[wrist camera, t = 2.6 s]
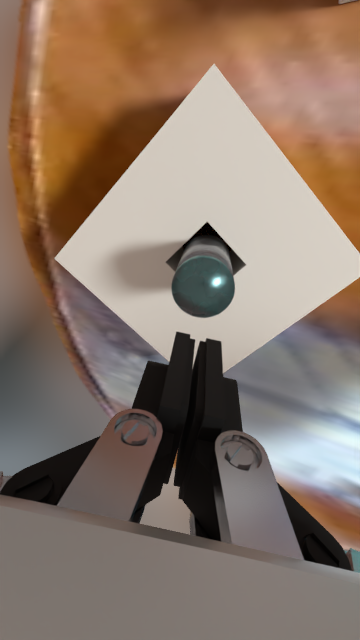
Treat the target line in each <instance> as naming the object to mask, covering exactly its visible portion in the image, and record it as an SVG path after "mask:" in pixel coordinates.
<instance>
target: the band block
mask: <svg viewBox="0 0 360 640" xmlns="http://www.w3.org/2000/svg"><path fill="white" fill-rule="evenodd" d="M206 222H208V223H209V224H210V225H211V226H212V227H213V228H214V230H215V231H216V232H217V233H218V234H219V235H220V236H221V237H222V238H223V240H224V241H225V242H226V243H227V244H228V245H229V246H230V247H231V248H232V249H233V250H231V251H230V252H229V254H230V260H231V266H232V271H233V277H234V283H235V293H234V297H233V299H232V302H231V303H230V305H229V306H228V307H227V308H226V309H225V310H224V311H223V312H221V313H220V314H218V315H215V316H213V317H208V318H199V317H194V316H191V315H189V314H187V313H185V312H184V311H183V310H181V309H180V308H179V307H178V305H177V304H176V302H175V301H174V298H173V296H172V289H171V286H172V280H173V277H174V274H175V272H176V269H177V267H178V264H179V262H180V259H181V256H182V254H183V251H184V249H183V248H182V246H183V245H184V244H185V243H186V242H187V241H188V240H189V239H190V238H191V237H192V236H193V235H194V234H195V233H196V232H197V231H198V230H199V229H200V228H201V227H202V226H203V225H204V224H205V223H206ZM54 259H55V260H56V261H57V262H59V263H60V264H61V265H62V266H63V267H64V268H65V269H66V270H67V271H69V272H70V273H71V274H72V275H73V276H74V277H75V278H76V279H77V280H79V281H80V282H81V283H82V284H83V285H84V286H85V287H86V288H87V289H89V290H90V291H91V292H92V293H93V294H94V295H95V296H96V297H98V298H99V299H100V300H101V301H102V302H103V303H104V304H105V305H106V306H108V307H109V308H110V309H111V310H112V311H113V312H114V313H115V314H116V315H118V316H119V317H120V318H121V319H122V320H123V321H124V322H125V323H126V324H128V325H129V326H130V327H131V328H132V329H133V330H134V331H135V332H136V333H138V334H139V335H140V336H141V337H142V338H143V339H144V340H145V341H146V342H148V343H149V344H150V345H151V346H152V347H153V348H154V349H155V350H156V351H158V352H159V353H160V354H161V355H162V356H163V357H164V358H165V359H166V360H168V361H169V362H170V357H171V353H172V348H173V344H174V339H175V335H176V331H177V332H182V333H186V334H190V338H191V339H195V348H194V358H193V365H194V361H195V357H196V354H197V350H198V346H199V343H200V341H204V342H205V341H206V338H209V339H213V340H218V341H221V344H222V363H223V373H225V372H226V371H227V370H229V369H230V368H232V367H233V366H234V365H236V364H237V363H239V362H240V361H242V360H243V359H244V358H246V357H247V356H249V355H250V354H251V353H253V352H254V351H256V350H257V349H259V348H260V347H261V346H263V345H264V344H266V343H267V342H268V341H270V340H271V339H273V338H274V337H276V336H277V335H278V334H280V333H281V332H283V331H284V330H285V329H287V328H288V327H290V326H291V325H293V324H294V323H295V322H297V321H298V320H300V319H301V318H302V317H304V316H305V315H307V314H308V313H310V312H311V311H312V310H314V309H315V308H317V307H318V306H320V305H321V304H322V303H324V302H325V301H327V300H328V299H329V298H331V297H332V296H334V295H335V294H337V293H338V292H339V291H341V290H342V289H344V288H345V287H346V286H348V285H349V284H351V283H352V282H354V281H355V280H356V279H358V278H359V277H360V253H359V252H358V251H357V250H356V248H355V247H354V246H353V244H352V243H351V242H350V240H349V239H348V238H347V236H346V235H345V234H344V233H343V231H342V230H341V229H340V227H339V226H338V225H337V223H336V222H335V221H334V220H333V218H332V217H331V216H330V214H329V213H328V212H327V210H326V209H325V208H324V207H323V205H322V204H321V203H320V201H319V200H318V199H317V197H316V196H315V195H314V193H313V192H312V191H311V190H310V188H309V187H308V186H307V184H306V183H305V182H304V180H303V179H302V178H301V177H300V175H299V174H298V173H297V171H296V170H295V169H294V167H293V166H292V165H291V163H290V162H289V161H288V160H287V158H286V157H285V156H284V154H283V153H282V152H281V150H280V149H279V148H278V147H277V145H276V144H275V143H274V141H273V140H272V139H271V137H270V136H269V135H268V133H267V132H266V131H265V130H264V128H263V127H262V126H261V124H260V123H259V122H258V120H257V119H256V118H255V117H254V115H253V114H252V113H251V111H250V110H249V109H248V107H247V106H246V105H245V103H244V102H243V101H242V100H241V98H240V97H239V96H238V94H237V93H236V92H235V90H234V89H233V88H232V87H231V85H230V84H229V83H228V81H227V80H226V79H225V77H224V76H223V75H222V73H221V72H220V71H219V70H218V68H217V67H216V66H215V64H213V65H212V67H211V68H210V69H209V70H208V72H207V73H206V74H205V75H204V76H203V78H202V79H201V80H200V81H199V83H198V84H197V85H196V86H195V87H194V89H193V90H192V91H191V92H190V93H189V95H188V96H187V97H186V98H185V100H184V101H183V102H182V103H181V104H180V106H179V107H178V108H177V109H176V111H175V112H174V113H173V114H172V115H171V117H170V118H169V119H168V120H167V122H166V123H165V124H164V125H163V126H162V128H161V129H160V130H159V131H158V133H157V134H156V135H155V136H154V137H153V139H152V140H151V141H150V142H149V143H148V145H147V146H146V147H145V148H144V150H143V151H142V152H141V153H140V154H139V156H138V157H137V158H136V159H135V161H134V162H133V163H132V164H131V165H130V167H129V168H128V169H127V170H126V172H125V173H124V174H123V175H122V176H121V178H120V179H119V180H118V181H117V182H116V184H115V185H114V186H113V187H112V189H111V190H110V191H109V192H108V193H107V195H106V196H105V197H104V198H103V200H102V201H101V202H100V203H99V204H98V206H97V207H96V208H95V209H94V211H93V212H92V213H91V214H90V215H89V217H88V218H87V219H86V220H85V222H84V223H83V224H82V225H81V226H80V228H79V229H78V230H77V231H76V232H75V234H74V235H73V236H72V237H71V239H70V240H69V241H68V242H67V243H66V245H65V246H64V247H63V248H62V250H61V251H60V252H59V253H58V254H57V256H56V257H55V258H54ZM192 369H193V368H192Z"/></svg>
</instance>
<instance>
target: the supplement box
mask: <svg viewBox="0 0 360 640" xmlns="http://www.w3.org/2000/svg"><path fill="white" fill-rule="evenodd" d="M351 1H356V0H339V4H343V3H346V2H351Z"/></svg>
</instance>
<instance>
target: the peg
mask: <svg viewBox="0 0 360 640" xmlns="http://www.w3.org/2000/svg"><path fill="white" fill-rule="evenodd" d="M171 289H172V296H173V298H174V301H175V302H176V304H177V305H178V307H179V308H180V309H181V310H183V311H184V312H185V313H187V314H189V315H191V316H194V317H199V318H208V317H213V316H215V315H218V314H220V313H221V312H223V311H224V310H225V309H226V308H227V307H228V306H229V305H230V303H231V302H232V299H233V297H234V293H235V283H234V277H233V271H232V266H231V260H230V254H229V250H228V248H227V246H226V244H225V243H224V242H223V241H222V240H221V239H220V238H218V237H216V236H213V235H207V234H206V235H200V236H197V237H195V238H193V239H192V240H191V241H189V243H188V244H187V245H186V247H185V249H184V251H183V254H182V256H181V259H180V262H179V264H178V267H177V269H176V272H175V274H174V277H173V280H172V286H171Z"/></svg>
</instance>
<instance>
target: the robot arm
mask: <svg viewBox="0 0 360 640" xmlns="http://www.w3.org/2000/svg"><path fill="white" fill-rule="evenodd" d="M194 348H195V339H191V338H190V334H186V333H182V332H177V331H176V335H175V339H174V344H173V348H172V353H171V357H170V362H169V365H166V364H161V363H157V362H152V361H148V362H147V365H146V368H145V371H144V374H143V377H142V380H141V382H140V385H139V388H138V391H137V394H136V397H135V400H134V403H133V406H132V409H128V410H124V411H121V412H119V413H118V414H116V415H115V416H114V417H113V418H112V419H111V420H110V422H109V424H108V425H107V427H106V428H105V430H104V431H103V433H102V435H101V436H99V437H97V438H95V439H92V440H90V441H88V442H85V443H83V444H81V445H78V446H76V447H74V448H71V449H69V450H67V451H64V452H62V453H60V454H57V455H55V456H53V457H50V458H48V459H46V460H44V461H41V462H39V463H36V464H34V465H32V466H30V467H27V468H25V469H23V470H21V471H20V472H18V473H16V474H15V475H13V476H3V472H0V640H360V552H358V551H356V550H354V549H351V548H350V549H349V551H348V552H347V551H345V550H343V548H342V547H341V545H340V544H339V543H338V542H337V541H336V539H335V538H334V537H333V536H332V535H331V534H330V533H329V532H328V531H327V530H326V529H325V528H324V527H323V526H322V525H321V524H320V523H319V522H318V521H317V520H316V519H314V518H313V517H312V516H311V515H310V514H309V513H308V512H307V511H306V510H305V509H304V508H303V507H302V506H301V505H300V504H299V503H298V502H297V501H296V500H295V499H294V498H293V497H292V496H291V495H290V494H289V493H288V492H287V491H286V490H284V489H283V488H282V487H281V486H280V485H279V484H278V483H277V482H276V479H275V476H274V473H273V470H272V468H271V465H270V462H269V459H268V456H267V454H266V452H265V450H264V448H263V446H262V445H261V444H260V443H259V442H258V441H257V440H256V439H254V438H253V437H252V436H250V435H248V434H246V433H244V432H243V430H242V422H241V413H240V405H239V396H238V387H237V381H236V380H233V379H229V378H224V377H223V363H222V344H221V341H218V340H213V339H209V338H206V341H205V342H204V341H200V343H199V346H198V350H197V354H196V357H195V361H194V365H193V358H194ZM192 368H193V369H192ZM177 450H178V453H177ZM176 453H177V461H176V469H175V477H174V486H178V487H180V489H179V499H182V500H183V501H184V503H185V504H186V505H187V507H188V508H189V509H190V511H191V512H190V519H189V523H190V535H188V534H184V533H179V532H175V531H170V530H166V529H161V528H157V527H152V526H148V525H143V524H139V523H140V521H141V518H142V515H143V512H144V509H145V505H146V504H147V503H148V502H150V501H152V500H153V499H155V498H156V497H158V496H159V495H160V493H161V489H162V486H163V483H165V484H168V482H169V478H170V475H171V471H172V468H173V464H174V460H175V457H176Z"/></svg>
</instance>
